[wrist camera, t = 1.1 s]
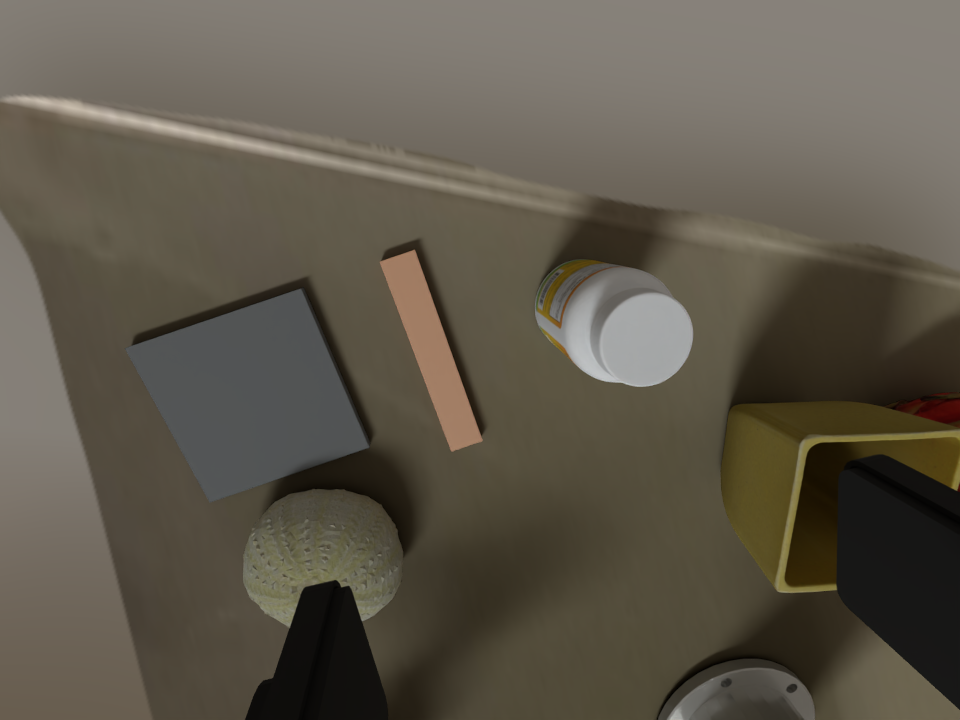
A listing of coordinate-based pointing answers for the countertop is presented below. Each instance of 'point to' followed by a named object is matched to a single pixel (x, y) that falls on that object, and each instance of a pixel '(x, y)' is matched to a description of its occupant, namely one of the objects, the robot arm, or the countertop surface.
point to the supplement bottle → (614, 322)
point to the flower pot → (814, 477)
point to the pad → (251, 394)
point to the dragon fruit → (933, 408)
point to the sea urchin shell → (322, 551)
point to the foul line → (431, 348)
